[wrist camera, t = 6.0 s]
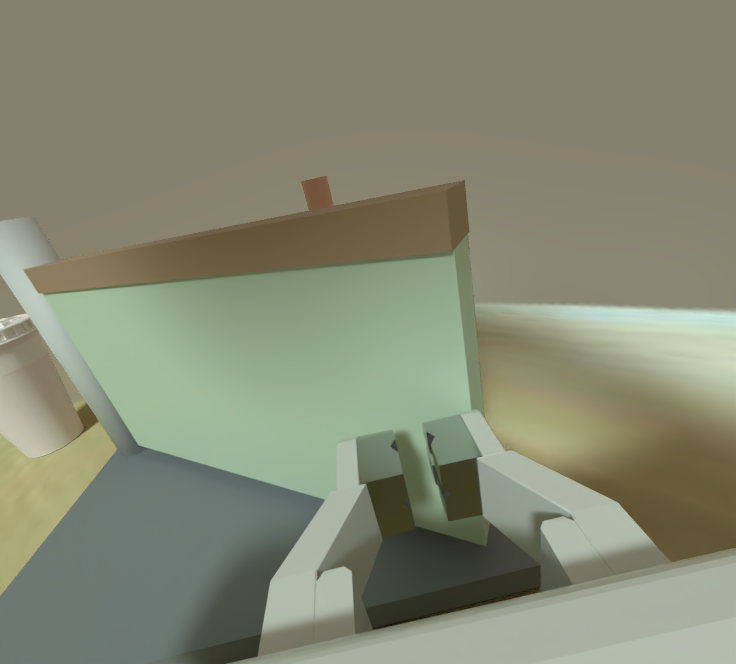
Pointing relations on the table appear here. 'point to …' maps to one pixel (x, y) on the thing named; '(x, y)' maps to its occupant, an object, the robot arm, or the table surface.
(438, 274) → the panel
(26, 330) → the smoothie
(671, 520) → the table surface
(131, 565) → the board
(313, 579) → the robot arm
